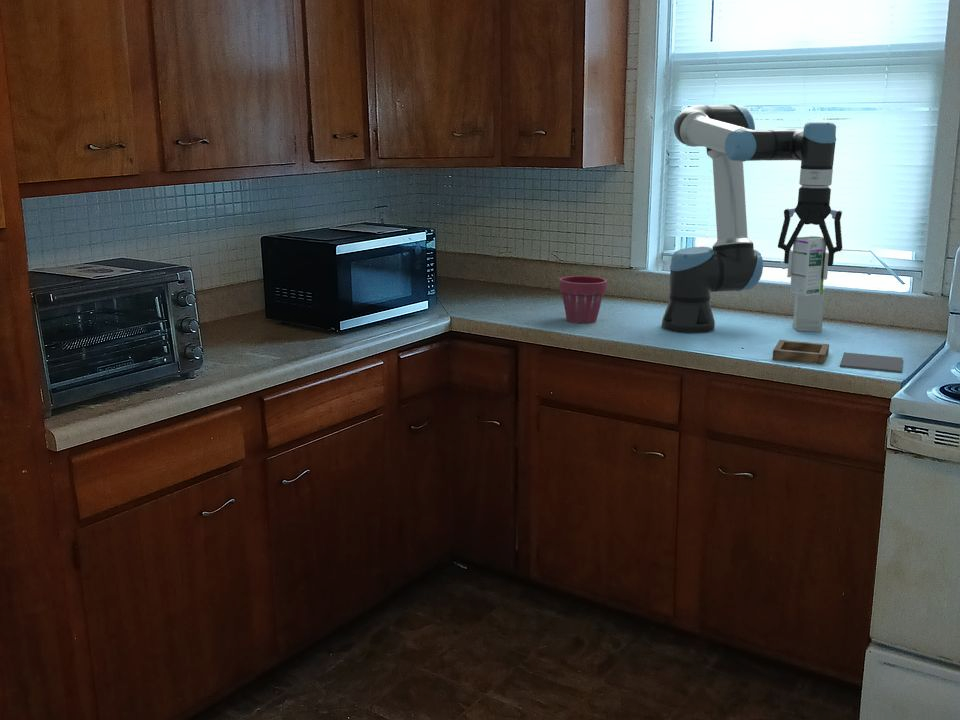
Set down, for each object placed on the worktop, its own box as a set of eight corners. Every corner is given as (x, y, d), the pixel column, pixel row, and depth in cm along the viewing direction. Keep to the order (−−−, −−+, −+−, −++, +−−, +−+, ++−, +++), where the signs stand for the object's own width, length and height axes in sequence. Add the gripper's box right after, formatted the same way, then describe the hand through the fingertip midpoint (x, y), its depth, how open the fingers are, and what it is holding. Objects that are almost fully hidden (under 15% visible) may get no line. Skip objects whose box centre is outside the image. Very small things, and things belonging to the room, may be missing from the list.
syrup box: (805, 297, 236) (810, 239, 232) (788, 292, 241) (793, 236, 238) (822, 295, 238) (828, 237, 235) (806, 291, 243) (811, 235, 240)
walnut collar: (772, 359, 241) (773, 350, 240) (778, 348, 252) (779, 339, 251) (824, 364, 236) (824, 354, 235) (828, 353, 247) (829, 344, 246)
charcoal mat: (839, 366, 234) (840, 364, 233) (843, 354, 246) (844, 352, 246) (901, 372, 228) (901, 370, 228) (902, 359, 240) (902, 357, 240)
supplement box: (822, 332, 271) (826, 288, 268) (795, 331, 273) (798, 288, 269) (818, 326, 278) (822, 284, 275) (792, 325, 280) (795, 283, 276)
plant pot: (612, 318, 290) (613, 277, 287) (595, 327, 278) (596, 284, 275) (569, 314, 297) (570, 273, 294) (551, 322, 285) (551, 280, 282)
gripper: (769, 186, 234) (762, 277, 240) (859, 188, 225) (849, 282, 231) (773, 184, 240) (766, 272, 246) (860, 186, 232) (851, 278, 238)
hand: (807, 277), depth 239 cm, fingers closed on syrup box, 8 cm apart
